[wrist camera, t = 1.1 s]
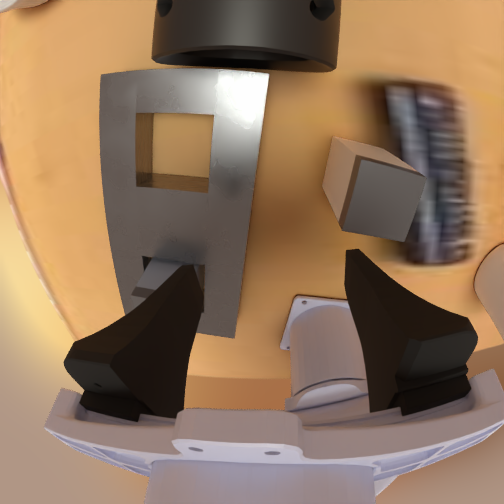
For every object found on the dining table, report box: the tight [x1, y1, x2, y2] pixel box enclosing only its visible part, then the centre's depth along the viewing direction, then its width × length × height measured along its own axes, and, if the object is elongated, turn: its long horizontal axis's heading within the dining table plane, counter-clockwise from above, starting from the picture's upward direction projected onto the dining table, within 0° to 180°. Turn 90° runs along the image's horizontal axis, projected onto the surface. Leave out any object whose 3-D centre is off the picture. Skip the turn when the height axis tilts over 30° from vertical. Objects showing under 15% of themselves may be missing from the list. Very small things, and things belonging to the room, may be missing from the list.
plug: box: [322, 136, 427, 242], centre depth 16 cm, size 4×4×7 cm
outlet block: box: [99, 68, 270, 338], centre depth 21 cm, size 11×22×3 cm, turn 173°
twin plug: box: [131, 257, 205, 309], centre depth 22 cm, size 4×4×7 cm
